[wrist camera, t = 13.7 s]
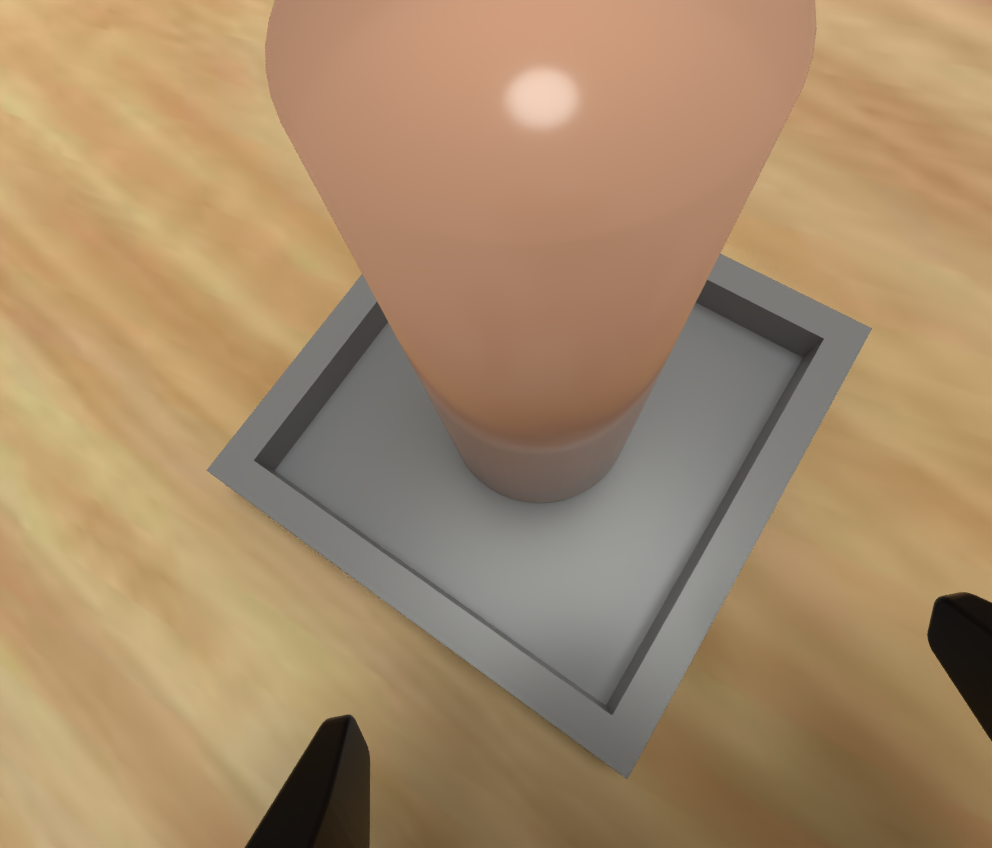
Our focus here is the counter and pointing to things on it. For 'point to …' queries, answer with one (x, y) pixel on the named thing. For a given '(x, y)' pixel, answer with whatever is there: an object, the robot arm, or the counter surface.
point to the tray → (555, 525)
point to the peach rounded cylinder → (536, 194)
